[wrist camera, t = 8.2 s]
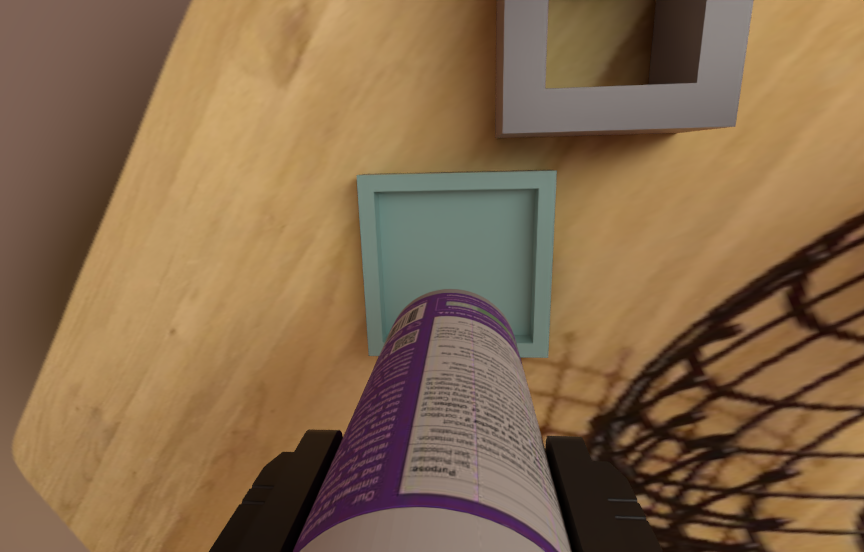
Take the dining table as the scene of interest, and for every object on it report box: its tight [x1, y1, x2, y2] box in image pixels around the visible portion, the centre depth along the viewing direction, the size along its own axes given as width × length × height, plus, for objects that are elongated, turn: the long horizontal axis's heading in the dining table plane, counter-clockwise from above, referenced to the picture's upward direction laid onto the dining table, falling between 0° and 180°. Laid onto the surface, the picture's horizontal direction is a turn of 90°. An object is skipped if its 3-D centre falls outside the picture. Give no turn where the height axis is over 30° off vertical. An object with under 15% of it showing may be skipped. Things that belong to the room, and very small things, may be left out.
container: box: [293, 289, 572, 552], centre depth 9 cm, size 5×5×15 cm
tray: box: [357, 170, 557, 358], centre depth 29 cm, size 12×12×2 cm
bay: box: [495, 0, 753, 138], centre depth 23 cm, size 11×11×6 cm
